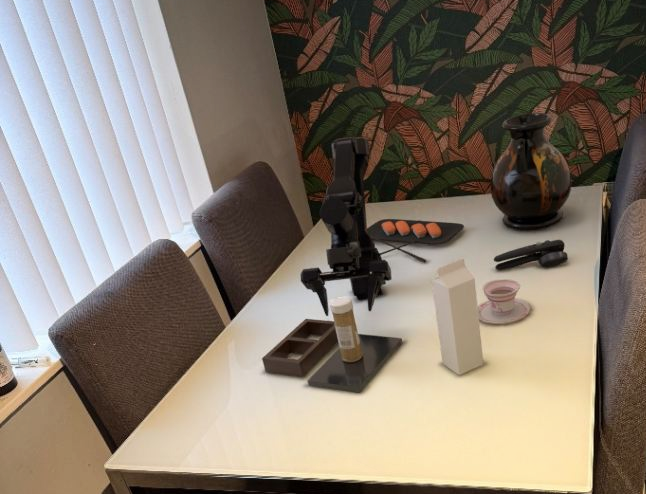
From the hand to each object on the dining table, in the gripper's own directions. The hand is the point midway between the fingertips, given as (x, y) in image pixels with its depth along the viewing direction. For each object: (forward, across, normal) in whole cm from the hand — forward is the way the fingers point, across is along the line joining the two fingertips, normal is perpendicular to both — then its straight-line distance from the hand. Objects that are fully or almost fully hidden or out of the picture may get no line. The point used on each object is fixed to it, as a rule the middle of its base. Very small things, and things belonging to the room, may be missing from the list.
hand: (348, 313), depth 160 cm
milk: (+14, +23, -1) cm, 27 cm away
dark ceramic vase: (-38, +43, +52) cm, 78 cm away
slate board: (+10, +1, +2) cm, 11 cm away
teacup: (-1, +32, +14) cm, 35 cm away
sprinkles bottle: (+9, 0, +2) cm, 10 cm away
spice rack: (+6, -11, +7) cm, 15 cm away
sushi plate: (-33, +6, +47) cm, 58 cm away
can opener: (-18, +40, +31) cm, 54 cm away
